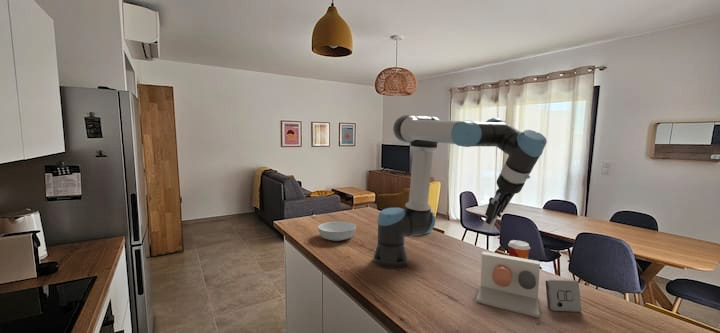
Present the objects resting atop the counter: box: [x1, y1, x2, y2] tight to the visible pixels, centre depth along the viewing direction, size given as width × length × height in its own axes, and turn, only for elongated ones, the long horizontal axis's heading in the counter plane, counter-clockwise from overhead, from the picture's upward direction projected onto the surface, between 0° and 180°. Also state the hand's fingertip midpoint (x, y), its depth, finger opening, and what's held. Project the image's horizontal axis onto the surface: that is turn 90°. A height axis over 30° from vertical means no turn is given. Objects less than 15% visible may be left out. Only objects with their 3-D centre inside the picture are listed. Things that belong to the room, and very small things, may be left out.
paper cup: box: [507, 239, 531, 269], centre depth 118 cm, size 8×8×14 cm
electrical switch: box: [545, 279, 582, 313], centre depth 97 cm, size 9×5×9 cm, turn 86°
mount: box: [475, 251, 541, 319], centre depth 101 cm, size 18×14×13 cm
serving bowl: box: [317, 221, 357, 242], centre depth 163 cm, size 21×21×7 cm
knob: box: [492, 265, 512, 287], centre depth 107 cm, size 6×13×6 cm, turn 151°
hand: (486, 227), depth 108 cm, fingers closed
